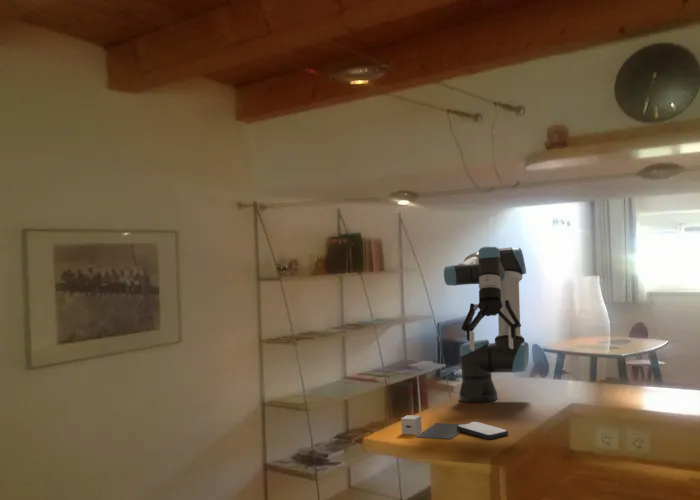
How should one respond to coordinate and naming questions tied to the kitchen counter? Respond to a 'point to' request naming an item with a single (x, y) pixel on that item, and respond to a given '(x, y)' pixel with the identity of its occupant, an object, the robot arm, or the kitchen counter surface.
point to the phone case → (482, 430)
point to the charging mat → (440, 431)
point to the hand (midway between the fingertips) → (491, 349)
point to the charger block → (411, 424)
